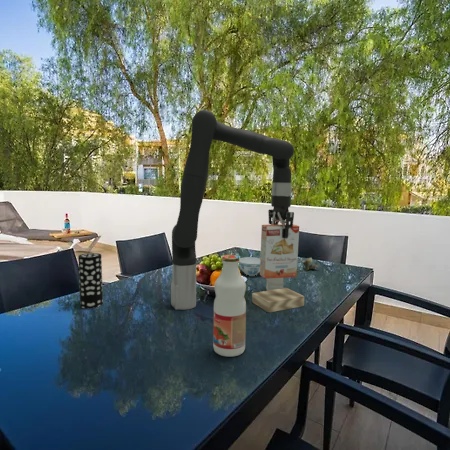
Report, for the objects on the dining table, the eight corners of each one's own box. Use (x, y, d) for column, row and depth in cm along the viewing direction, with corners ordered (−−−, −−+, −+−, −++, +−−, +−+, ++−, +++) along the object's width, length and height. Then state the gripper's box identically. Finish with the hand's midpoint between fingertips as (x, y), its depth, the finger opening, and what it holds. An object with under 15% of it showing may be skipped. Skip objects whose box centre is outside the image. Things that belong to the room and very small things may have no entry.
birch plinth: (268, 312, 128) (268, 302, 128) (252, 302, 139) (252, 293, 138) (304, 305, 136) (304, 296, 135) (286, 296, 146) (286, 287, 146)
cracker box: (265, 279, 131) (266, 226, 129) (259, 275, 137) (260, 224, 134) (297, 277, 135) (299, 225, 132) (290, 273, 141) (292, 223, 138)
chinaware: (233, 276, 176) (234, 262, 175) (240, 269, 191) (241, 256, 190) (262, 279, 172) (262, 264, 171) (267, 272, 186) (267, 258, 185)
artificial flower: (277, 273, 190) (278, 255, 192) (313, 275, 196) (313, 258, 197) (284, 273, 182) (284, 254, 183) (321, 275, 187) (321, 257, 189)
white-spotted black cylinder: (75, 306, 132) (73, 256, 130) (92, 299, 140) (91, 252, 137) (90, 310, 128) (88, 258, 126) (107, 303, 136) (105, 254, 133)
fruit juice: (247, 356, 96) (249, 259, 92) (214, 358, 95) (215, 260, 91) (242, 341, 105) (244, 252, 101) (212, 342, 104) (213, 253, 100)
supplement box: (282, 289, 157) (283, 262, 155) (283, 294, 149) (284, 266, 148) (266, 288, 157) (266, 262, 156) (266, 293, 150) (267, 266, 148)
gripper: (263, 193, 137) (261, 234, 139) (284, 195, 124) (282, 240, 126) (278, 193, 140) (277, 233, 142) (300, 195, 127) (298, 239, 129)
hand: (279, 236), depth 134 cm, fingers closed on cracker box, 6 cm apart
